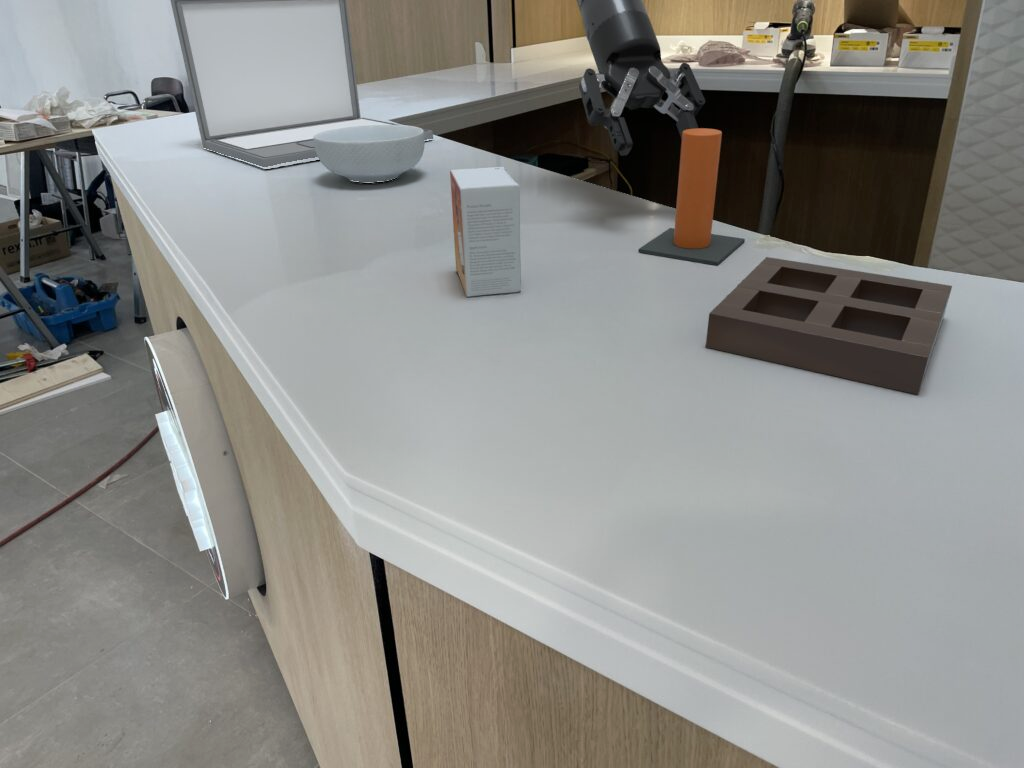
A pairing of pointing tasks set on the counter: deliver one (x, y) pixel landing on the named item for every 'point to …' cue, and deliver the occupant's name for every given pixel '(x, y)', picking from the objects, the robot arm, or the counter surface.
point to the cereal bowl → (370, 151)
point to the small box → (486, 230)
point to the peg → (697, 187)
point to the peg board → (833, 322)
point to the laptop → (269, 75)
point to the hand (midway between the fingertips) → (660, 148)
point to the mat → (709, 255)
